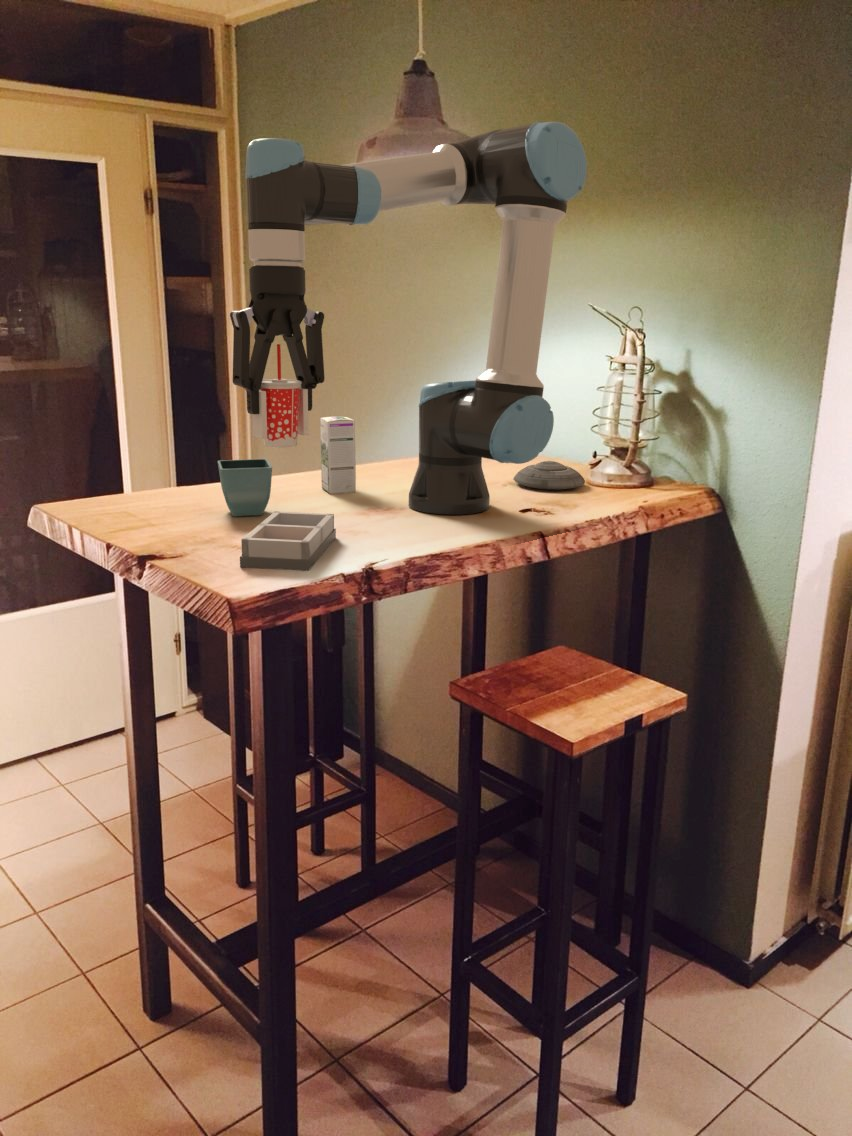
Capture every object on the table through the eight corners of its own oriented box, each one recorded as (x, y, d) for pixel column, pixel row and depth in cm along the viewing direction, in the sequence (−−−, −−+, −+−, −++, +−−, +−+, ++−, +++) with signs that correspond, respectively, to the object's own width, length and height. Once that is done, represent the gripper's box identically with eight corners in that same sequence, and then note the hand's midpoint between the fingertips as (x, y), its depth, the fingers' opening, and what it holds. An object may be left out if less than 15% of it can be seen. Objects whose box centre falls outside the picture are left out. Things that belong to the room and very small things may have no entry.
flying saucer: (594, 484, 200) (595, 459, 198) (570, 497, 187) (572, 469, 186) (528, 477, 207) (529, 452, 205) (501, 488, 194) (503, 462, 192)
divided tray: (335, 537, 150) (335, 513, 149) (308, 570, 132) (308, 543, 131) (275, 534, 151) (274, 510, 150) (240, 567, 133) (239, 539, 132)
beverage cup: (283, 440, 137) (281, 342, 133) (311, 445, 133) (310, 344, 129) (250, 444, 133) (247, 343, 129) (277, 449, 129) (275, 345, 125)
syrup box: (356, 492, 185) (356, 419, 181) (327, 494, 183) (327, 420, 179) (348, 487, 190) (348, 415, 186) (320, 488, 188) (319, 416, 184)
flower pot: (222, 520, 161) (220, 468, 158) (219, 509, 169) (217, 459, 166) (273, 518, 163) (272, 467, 160) (268, 507, 171) (267, 458, 168)
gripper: (321, 267, 135) (323, 428, 141) (199, 262, 123) (207, 437, 130) (351, 267, 129) (351, 434, 136) (226, 261, 118) (232, 444, 124)
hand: (280, 435), depth 133 cm, fingers closed on beverage cup, 6 cm apart
